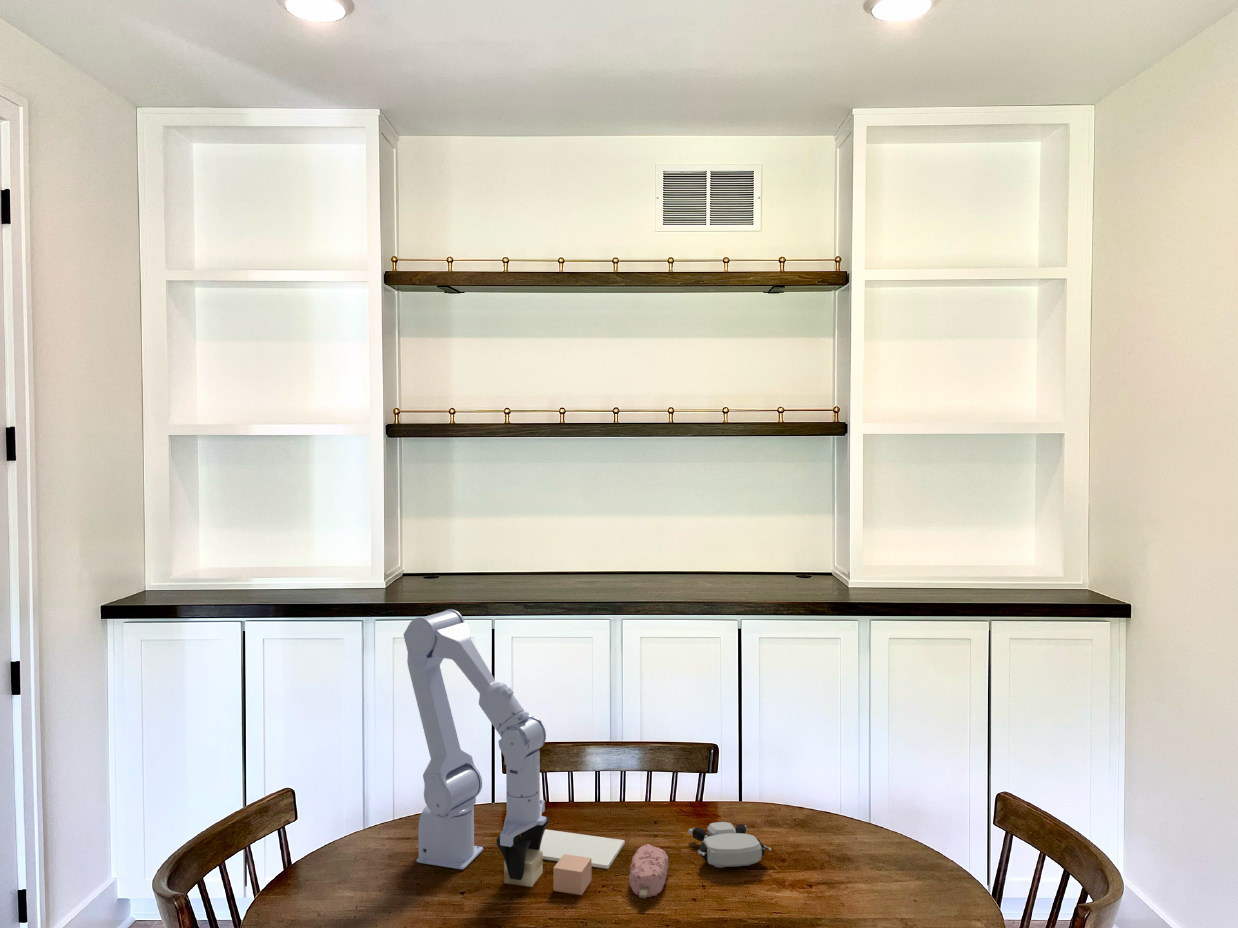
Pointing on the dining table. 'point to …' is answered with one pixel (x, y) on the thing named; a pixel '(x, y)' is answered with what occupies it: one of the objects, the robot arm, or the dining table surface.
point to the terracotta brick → (572, 874)
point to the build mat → (580, 847)
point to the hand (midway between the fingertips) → (523, 869)
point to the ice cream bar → (648, 871)
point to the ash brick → (528, 869)
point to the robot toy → (728, 845)
